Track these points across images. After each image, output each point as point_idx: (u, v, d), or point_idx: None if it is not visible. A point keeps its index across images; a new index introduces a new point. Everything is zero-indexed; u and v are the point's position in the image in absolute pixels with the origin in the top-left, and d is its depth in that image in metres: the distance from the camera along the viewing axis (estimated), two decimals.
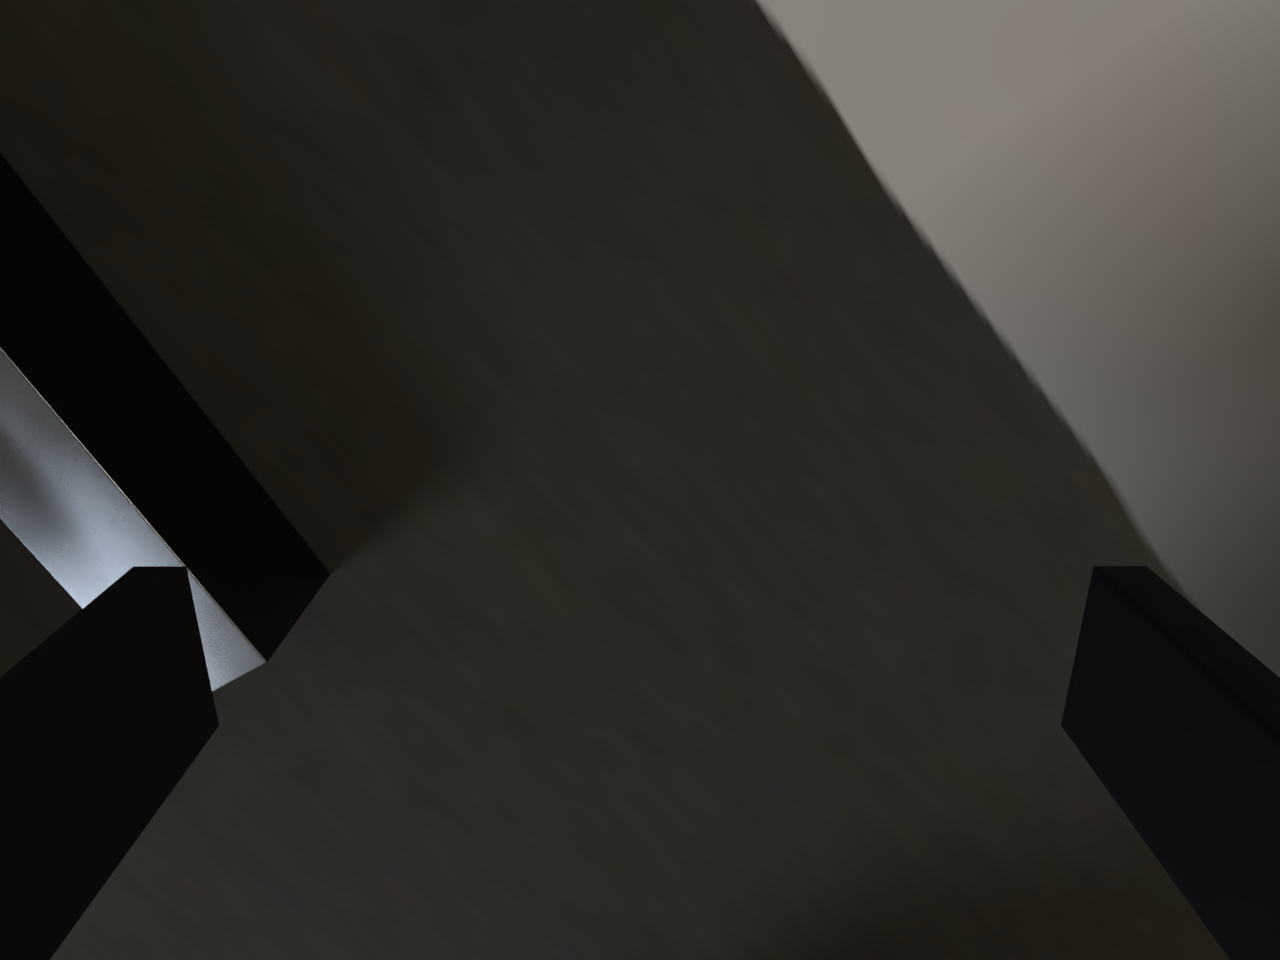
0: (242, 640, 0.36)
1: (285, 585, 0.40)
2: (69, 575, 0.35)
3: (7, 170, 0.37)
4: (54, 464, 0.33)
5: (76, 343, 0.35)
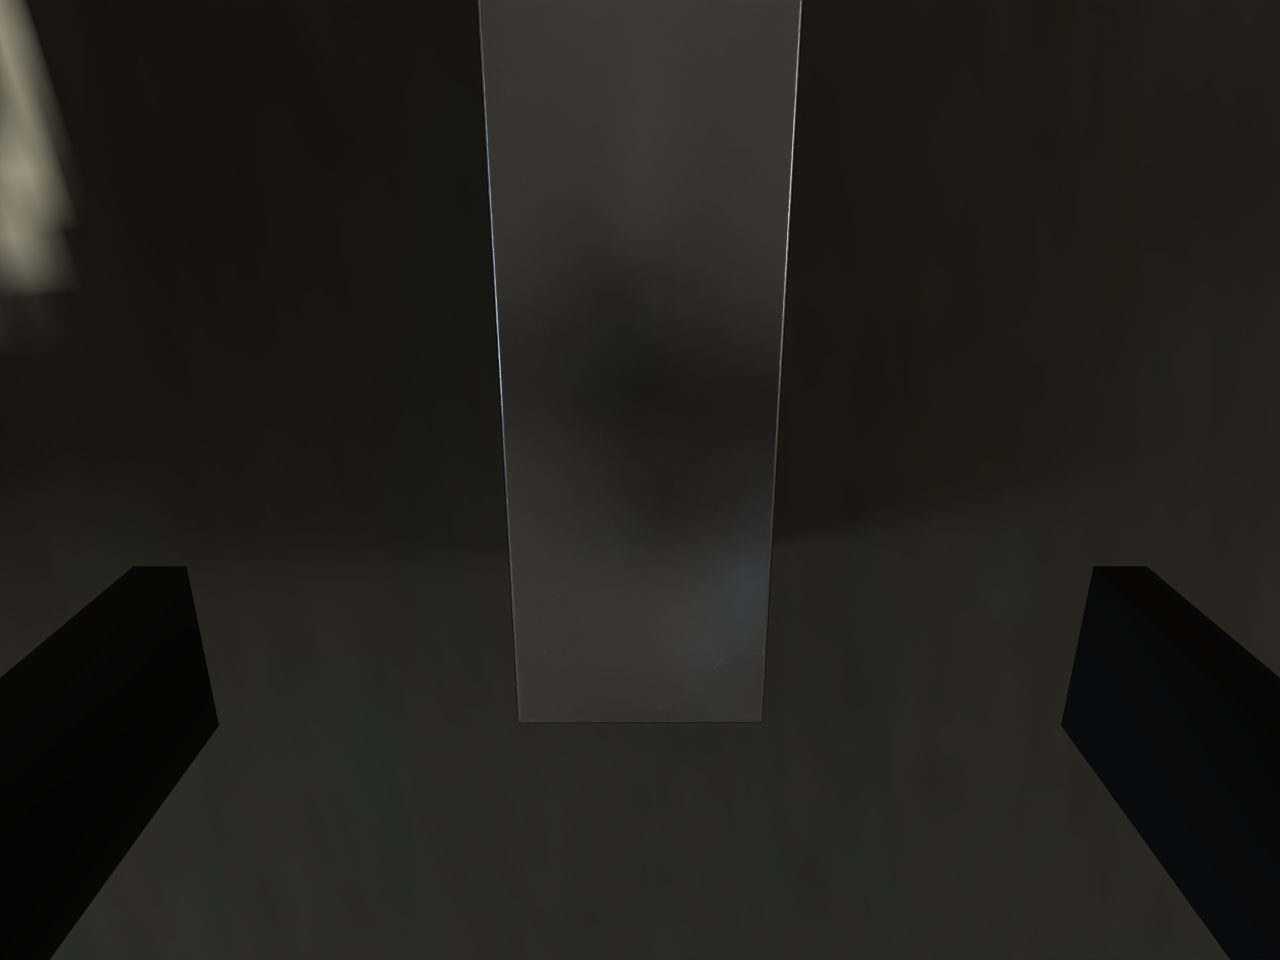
0: (755, 664, 0.17)
1: None
2: (535, 374, 0.15)
3: None
4: (704, 135, 0.14)
5: None
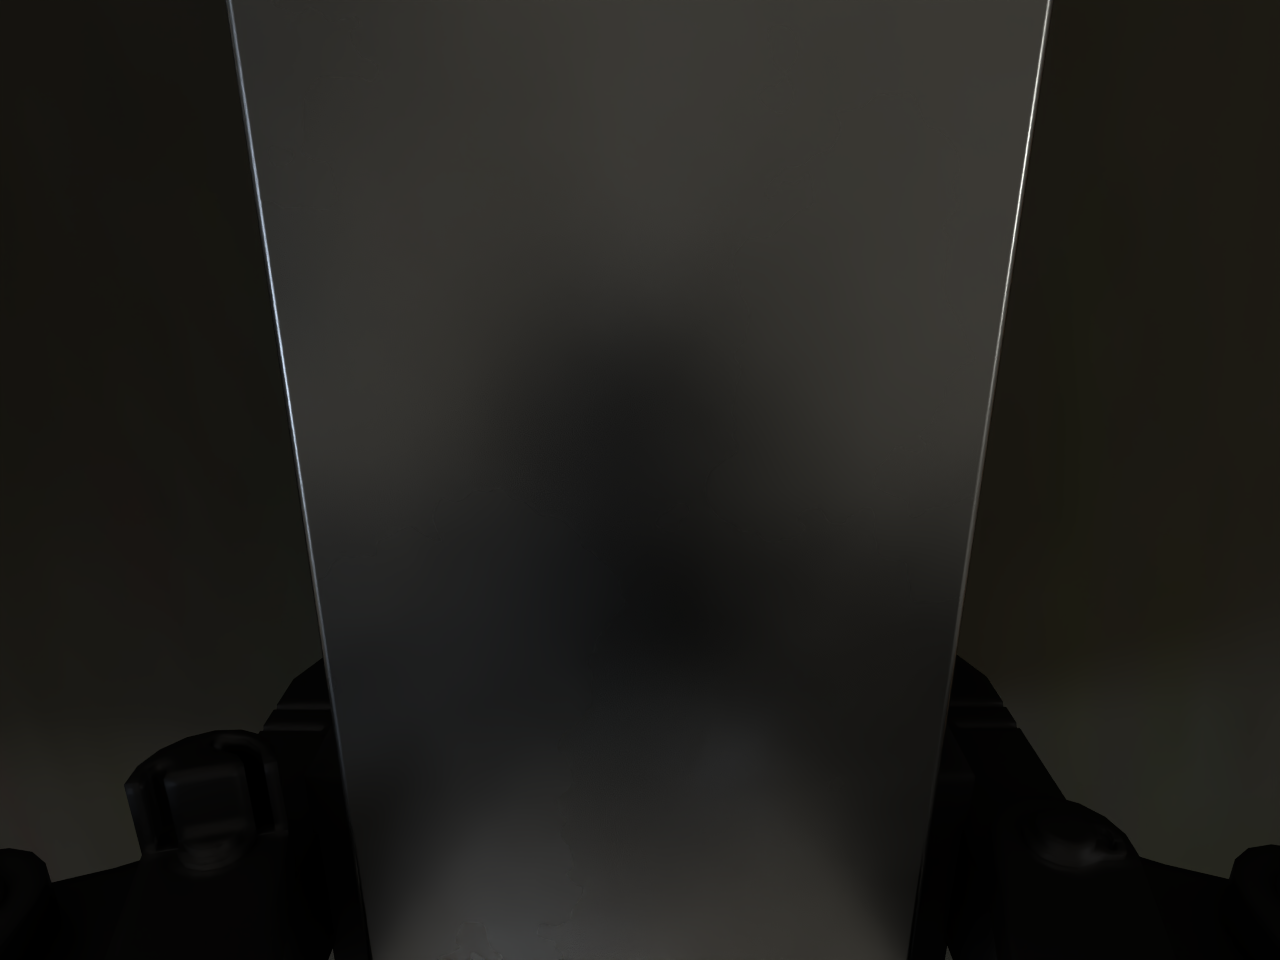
0: None
1: None
2: (400, 625, 0.07)
3: None
4: (806, 68, 0.05)
5: None
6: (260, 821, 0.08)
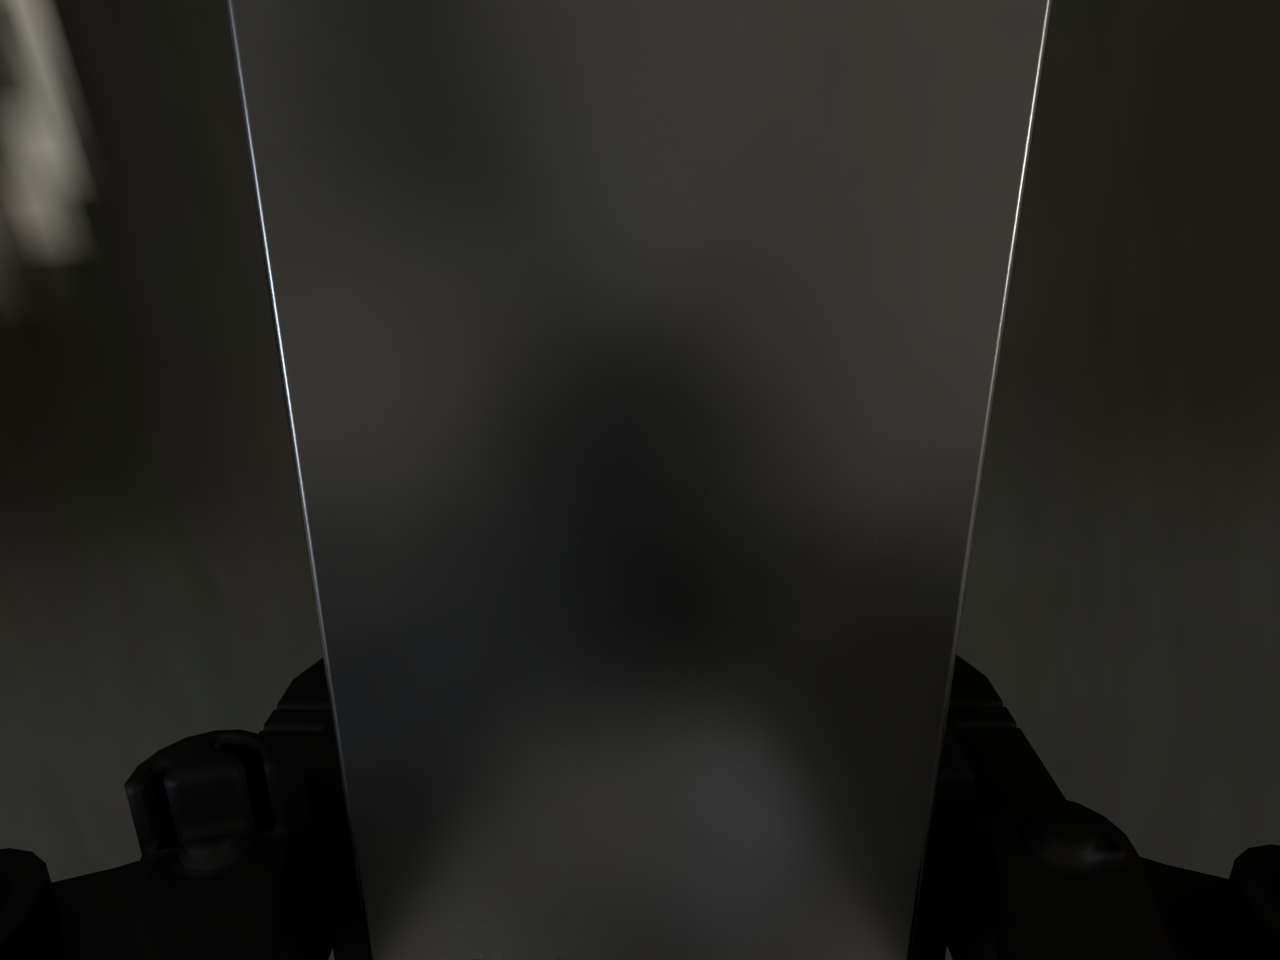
0: None
1: None
2: (400, 622, 0.07)
3: None
4: (806, 64, 0.05)
5: None
6: (260, 821, 0.08)
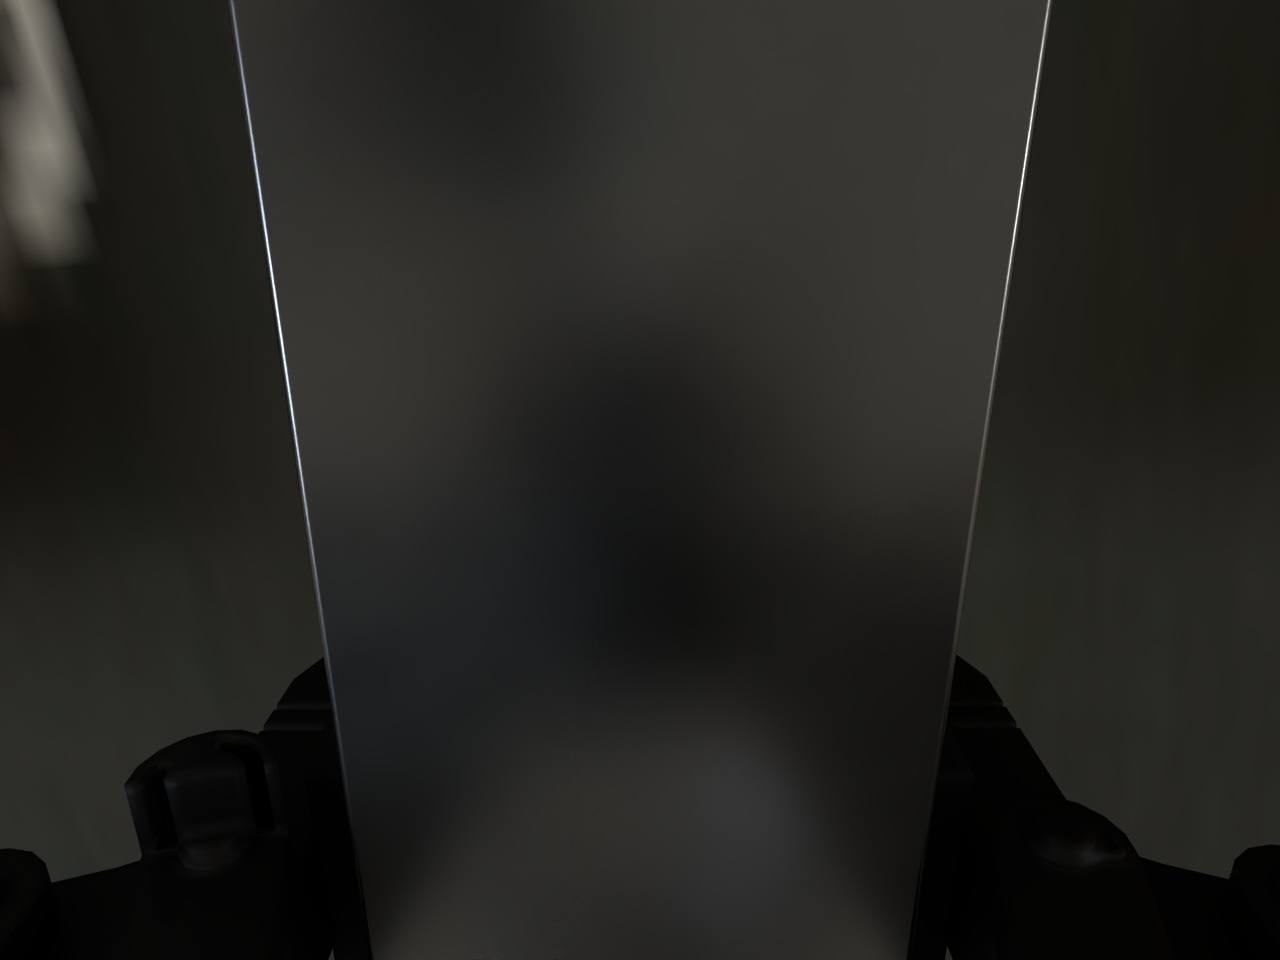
0: None
1: None
2: (400, 621, 0.07)
3: None
4: (806, 63, 0.05)
5: None
6: (260, 821, 0.08)
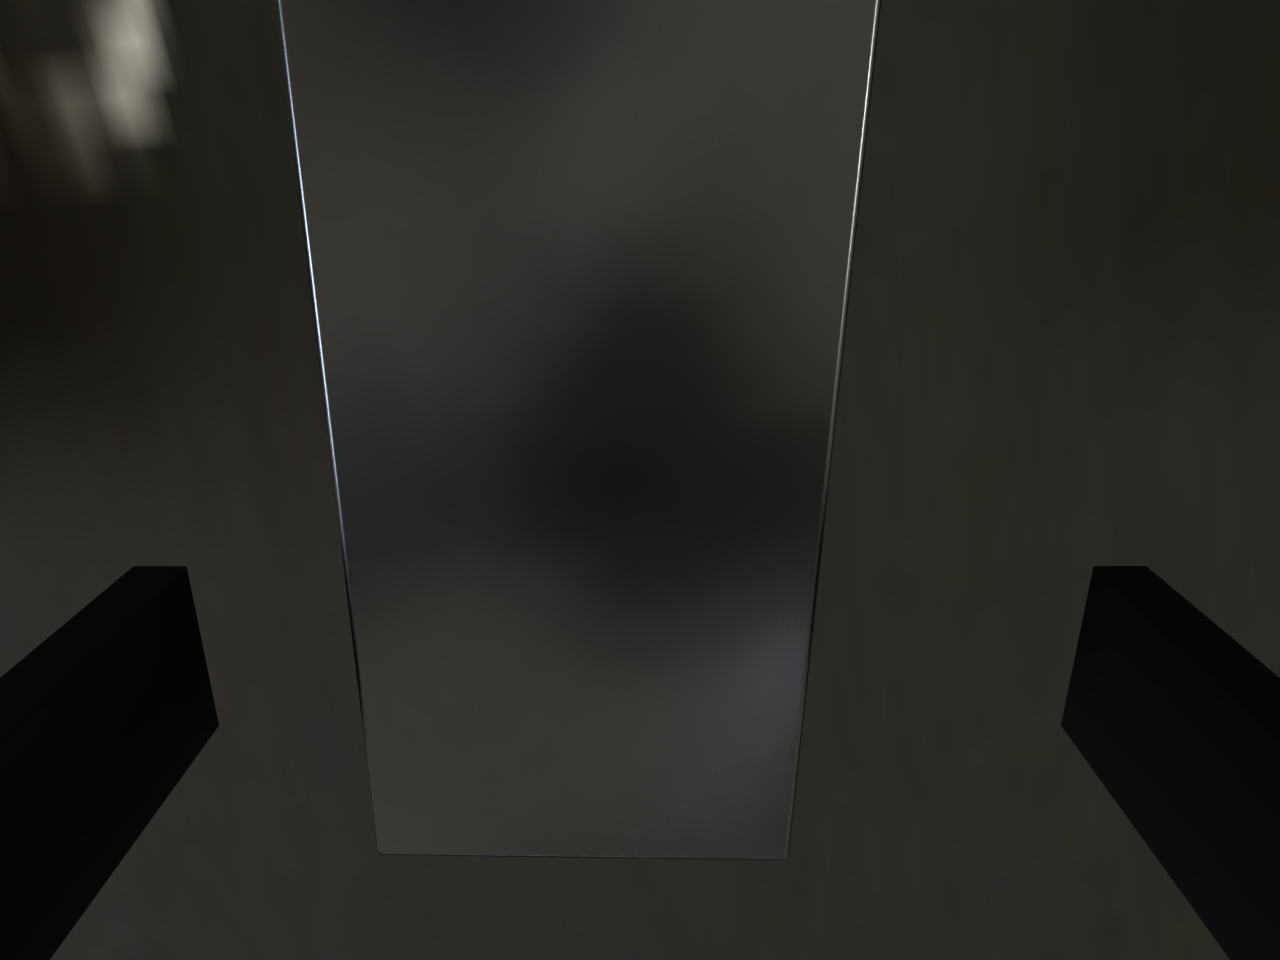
0: (781, 770, 0.10)
1: None
2: (375, 238, 0.08)
3: None
4: None
5: None
6: None
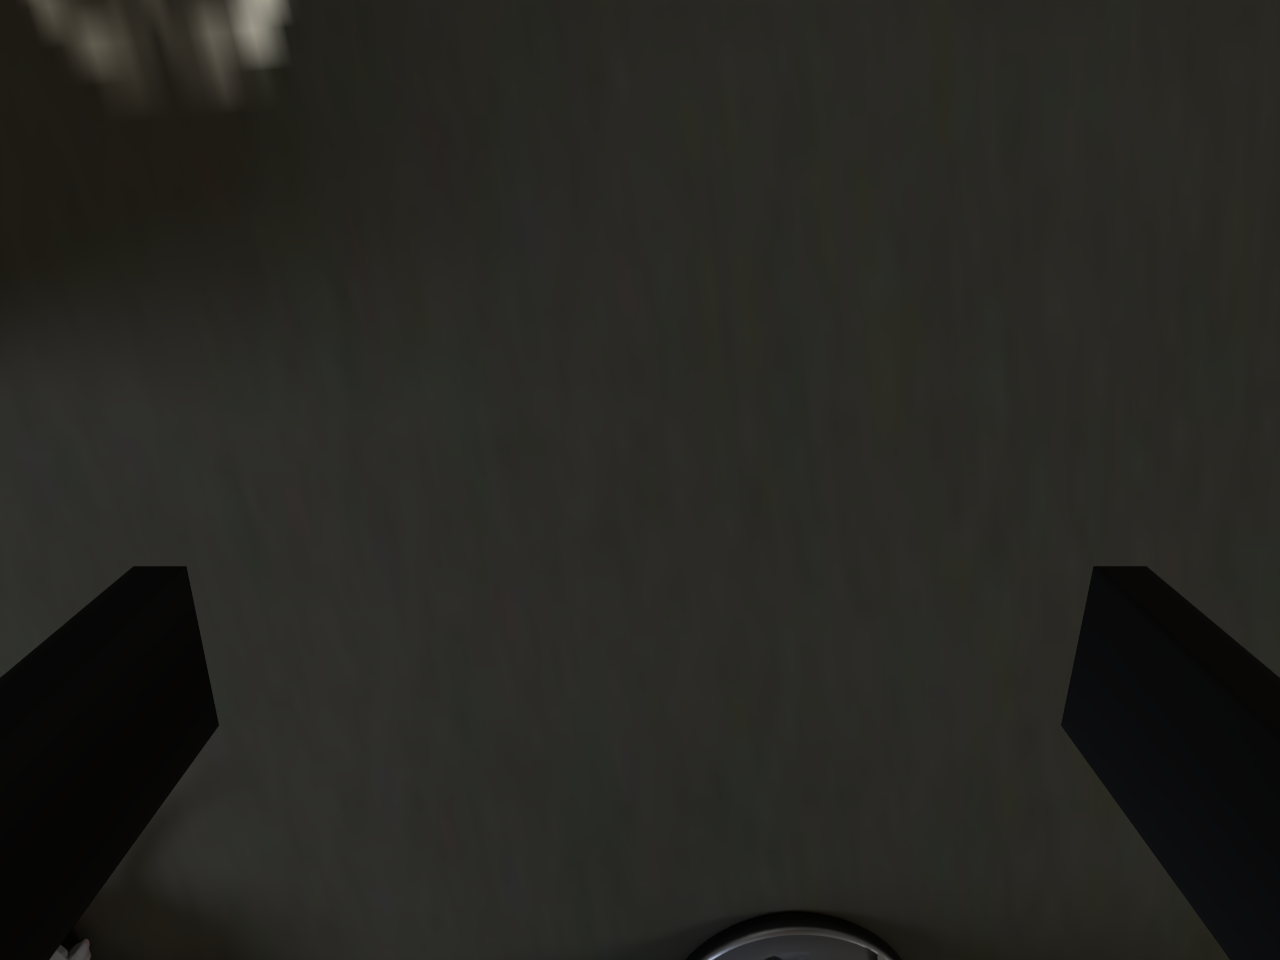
0: None
1: None
2: None
3: None
4: None
5: None
6: None
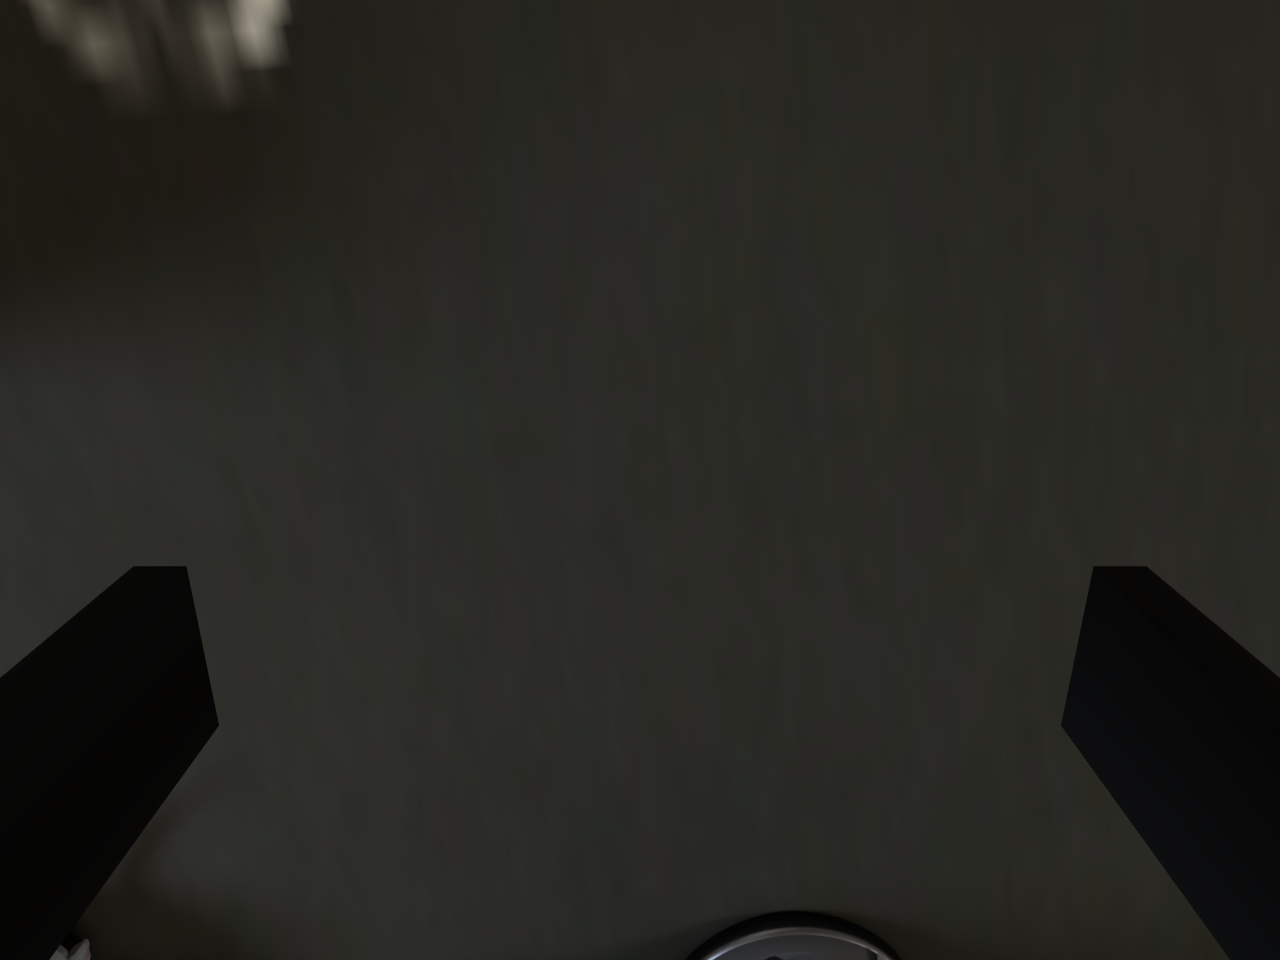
0: None
1: None
2: None
3: None
4: None
5: None
6: None
